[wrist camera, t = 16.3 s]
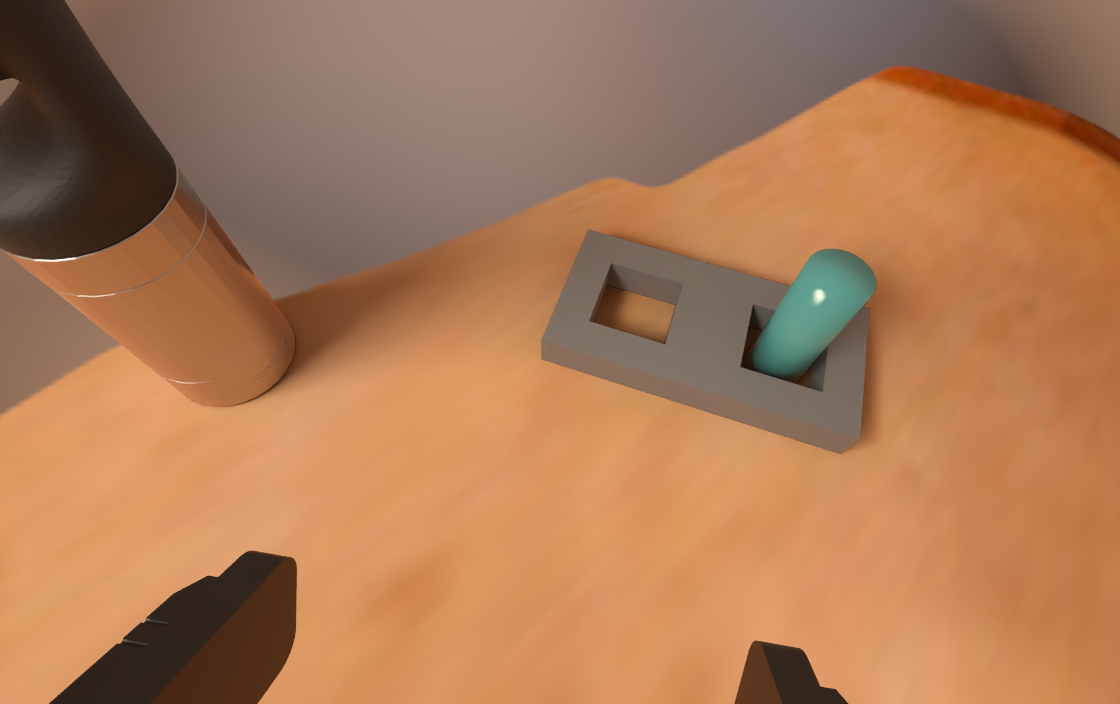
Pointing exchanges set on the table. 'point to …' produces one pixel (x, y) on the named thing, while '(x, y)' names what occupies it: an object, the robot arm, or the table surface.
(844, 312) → the teal round-top peg
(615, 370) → the rack
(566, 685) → the table surface
